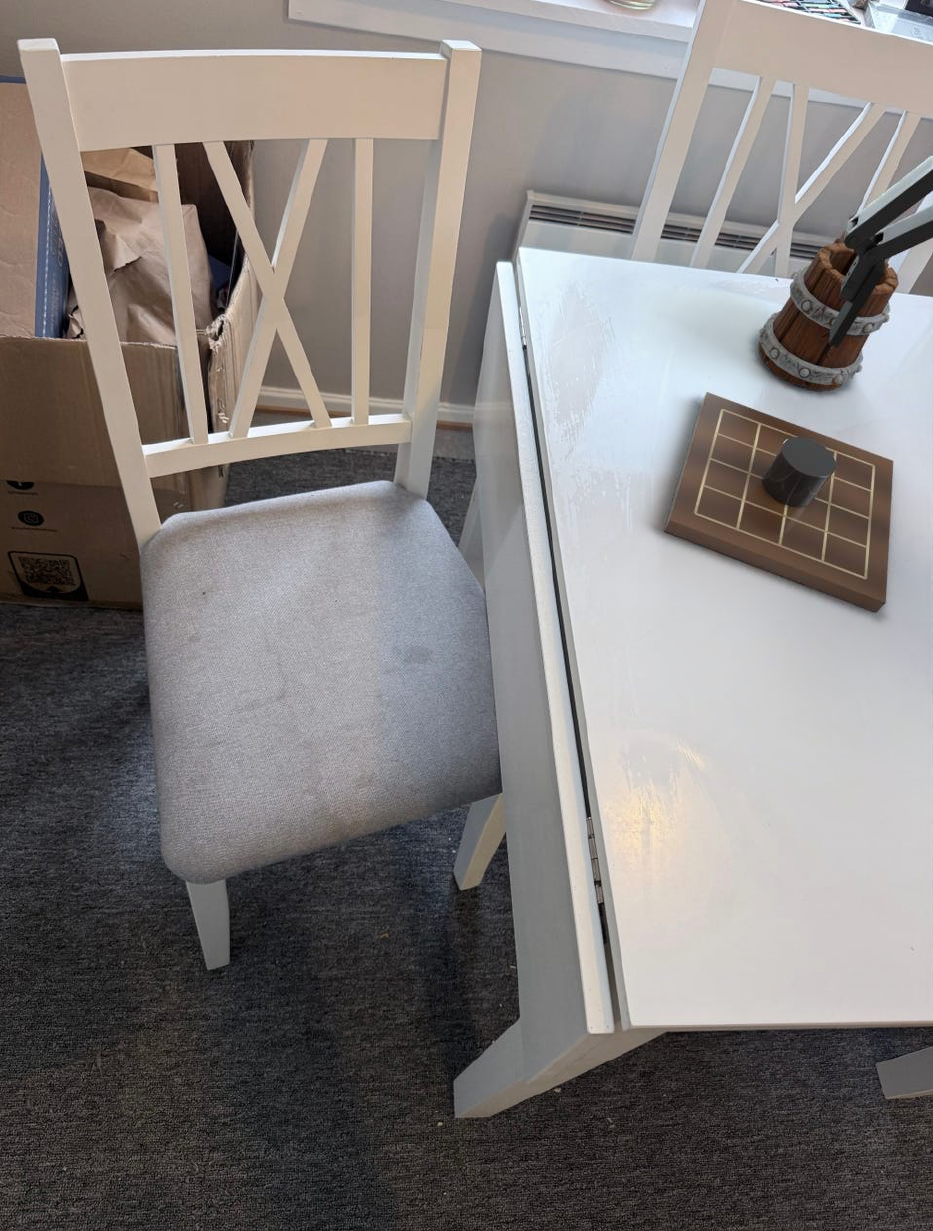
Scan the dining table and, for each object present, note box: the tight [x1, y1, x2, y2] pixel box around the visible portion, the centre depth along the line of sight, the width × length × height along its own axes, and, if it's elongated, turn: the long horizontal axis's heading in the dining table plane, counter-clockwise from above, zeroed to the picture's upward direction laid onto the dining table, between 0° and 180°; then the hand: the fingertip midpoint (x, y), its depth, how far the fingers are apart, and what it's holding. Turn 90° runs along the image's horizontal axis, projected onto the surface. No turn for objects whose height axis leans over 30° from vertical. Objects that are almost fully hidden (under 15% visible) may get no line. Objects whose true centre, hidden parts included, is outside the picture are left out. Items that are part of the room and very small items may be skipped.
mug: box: [758, 214, 900, 392], centre depth 91 cm, size 12×14×15 cm
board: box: [664, 391, 894, 613], centre depth 80 cm, size 20×20×2 cm
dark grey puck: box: [762, 437, 836, 507], centre depth 78 cm, size 5×5×4 cm
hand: (916, 366), depth 67 cm, fingers open, 13 cm apart
